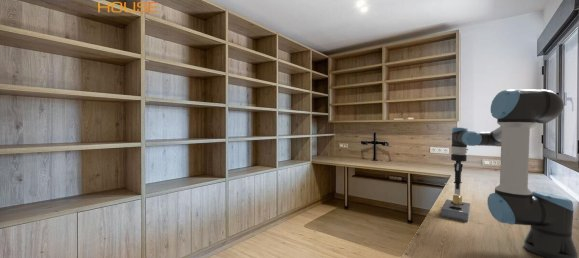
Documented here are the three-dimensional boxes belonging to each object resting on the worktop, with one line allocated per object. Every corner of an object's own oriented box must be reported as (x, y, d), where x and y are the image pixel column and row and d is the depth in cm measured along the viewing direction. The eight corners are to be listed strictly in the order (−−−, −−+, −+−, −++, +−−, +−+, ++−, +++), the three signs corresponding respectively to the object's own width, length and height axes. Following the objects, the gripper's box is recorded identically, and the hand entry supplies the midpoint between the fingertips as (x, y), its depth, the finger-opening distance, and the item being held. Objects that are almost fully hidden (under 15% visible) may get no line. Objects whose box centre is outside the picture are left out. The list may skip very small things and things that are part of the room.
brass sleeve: (459, 213, 148) (460, 197, 148) (451, 210, 151) (451, 195, 151) (462, 211, 150) (463, 196, 150) (454, 209, 154) (455, 194, 154)
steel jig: (467, 221, 134) (468, 213, 134) (441, 216, 142) (441, 208, 142) (469, 211, 152) (470, 203, 152) (446, 206, 159) (446, 199, 159)
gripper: (466, 155, 143) (464, 198, 144) (467, 153, 153) (465, 193, 154) (450, 154, 148) (448, 195, 148) (452, 152, 158) (451, 191, 158)
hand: (457, 194), depth 151 cm, fingers closed
